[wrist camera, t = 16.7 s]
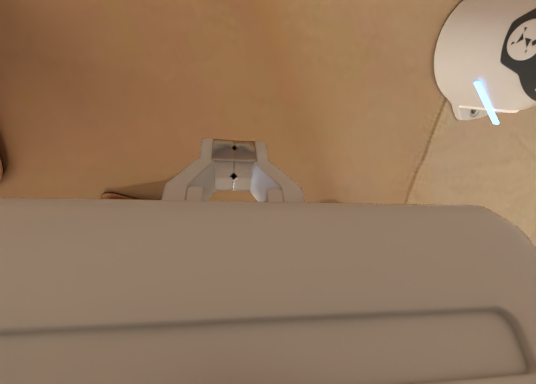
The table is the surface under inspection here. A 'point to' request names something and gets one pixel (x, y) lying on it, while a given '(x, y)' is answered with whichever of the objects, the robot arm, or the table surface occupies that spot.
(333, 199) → the table surface
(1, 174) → the case
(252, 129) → the table surface
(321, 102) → the table surface
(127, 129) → the table surface
